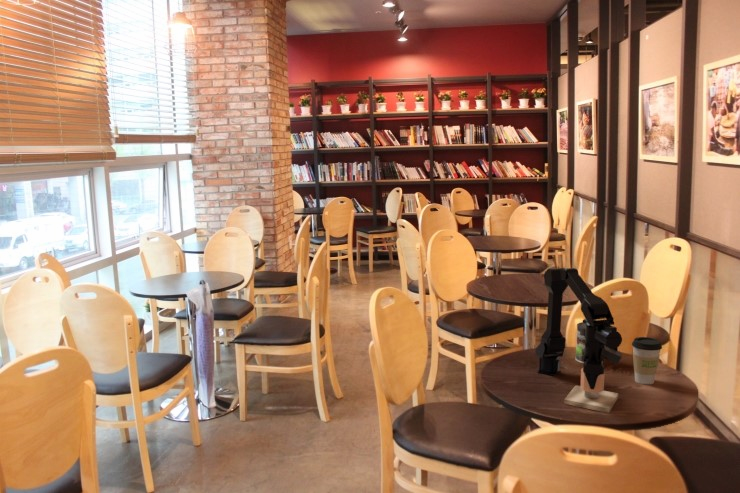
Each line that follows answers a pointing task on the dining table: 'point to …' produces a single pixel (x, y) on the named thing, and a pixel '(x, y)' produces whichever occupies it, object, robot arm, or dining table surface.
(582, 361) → the coffee can
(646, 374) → the coffee cup
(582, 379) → the collar sleeve
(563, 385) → the dining table surface
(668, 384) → the dining table surface
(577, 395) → the duct mount
